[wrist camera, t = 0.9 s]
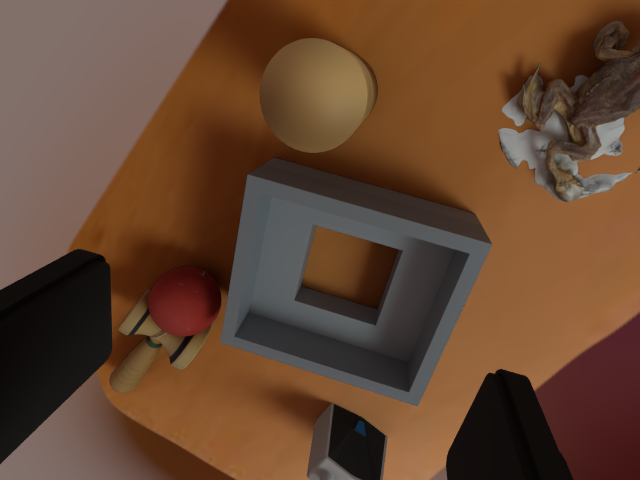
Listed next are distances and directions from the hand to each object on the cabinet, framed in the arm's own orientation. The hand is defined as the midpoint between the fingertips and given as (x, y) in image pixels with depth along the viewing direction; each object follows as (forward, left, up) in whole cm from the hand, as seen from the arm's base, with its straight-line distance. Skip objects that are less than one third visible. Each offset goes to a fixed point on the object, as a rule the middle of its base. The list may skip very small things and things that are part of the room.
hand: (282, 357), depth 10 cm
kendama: (+20, -14, -23) cm, 34 cm away
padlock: (+26, +6, -23) cm, 35 cm away
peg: (-5, -3, -23) cm, 23 cm away
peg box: (+8, +1, -23) cm, 24 cm away
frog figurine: (-8, +13, -23) cm, 28 cm away
